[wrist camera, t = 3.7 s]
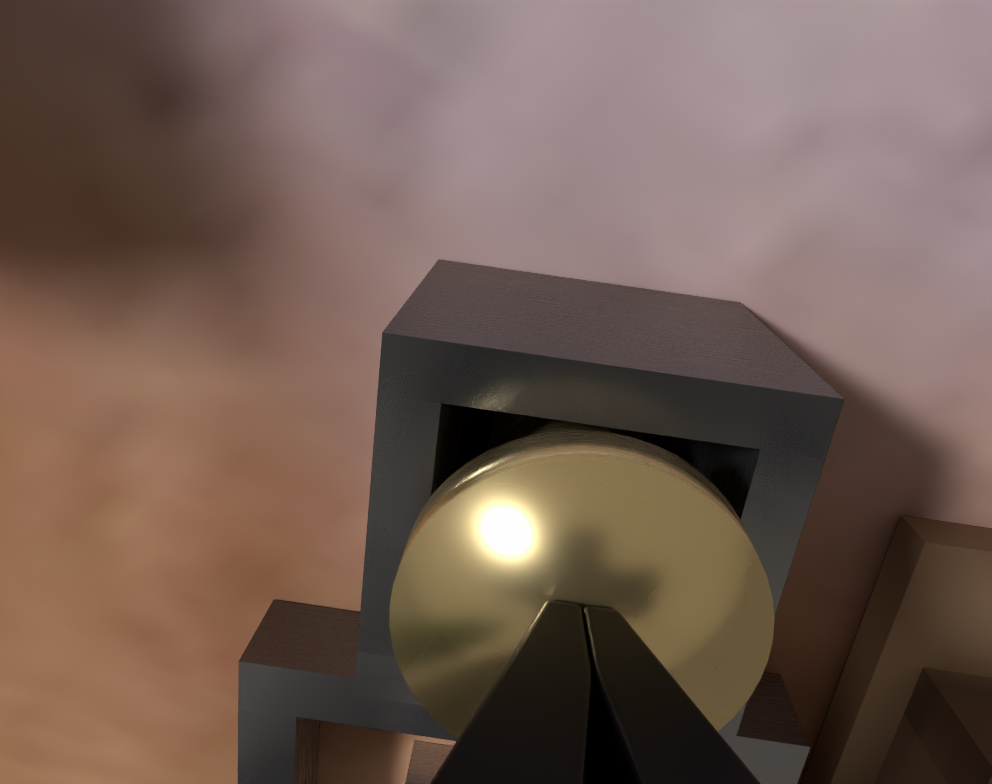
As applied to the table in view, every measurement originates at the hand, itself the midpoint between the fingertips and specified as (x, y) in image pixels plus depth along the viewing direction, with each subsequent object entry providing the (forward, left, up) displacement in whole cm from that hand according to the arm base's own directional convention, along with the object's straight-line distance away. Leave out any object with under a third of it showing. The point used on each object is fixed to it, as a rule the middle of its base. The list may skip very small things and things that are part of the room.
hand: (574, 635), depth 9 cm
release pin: (0, 0, -6) cm, 6 cm away
